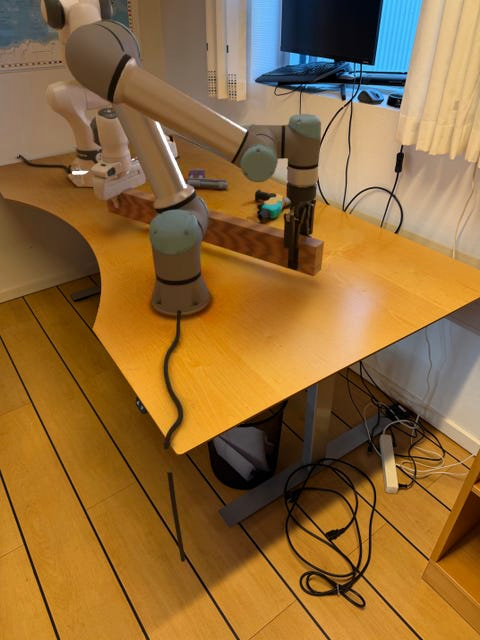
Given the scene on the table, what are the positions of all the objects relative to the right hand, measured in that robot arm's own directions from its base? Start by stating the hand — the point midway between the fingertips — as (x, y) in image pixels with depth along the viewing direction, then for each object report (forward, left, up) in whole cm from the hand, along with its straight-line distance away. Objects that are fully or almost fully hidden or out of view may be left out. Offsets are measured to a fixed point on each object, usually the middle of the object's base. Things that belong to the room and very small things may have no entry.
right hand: (297, 264), depth 132 cm
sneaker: (+98, +61, -5) cm, 116 cm away
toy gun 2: (+48, +10, -5) cm, 49 cm away
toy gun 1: (+74, +35, -5) cm, 81 cm away
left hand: (+33, +58, +3) cm, 67 cm away
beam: (+17, +29, -1) cm, 33 cm away
